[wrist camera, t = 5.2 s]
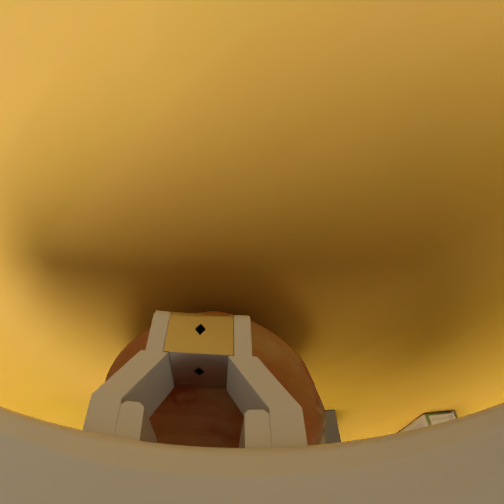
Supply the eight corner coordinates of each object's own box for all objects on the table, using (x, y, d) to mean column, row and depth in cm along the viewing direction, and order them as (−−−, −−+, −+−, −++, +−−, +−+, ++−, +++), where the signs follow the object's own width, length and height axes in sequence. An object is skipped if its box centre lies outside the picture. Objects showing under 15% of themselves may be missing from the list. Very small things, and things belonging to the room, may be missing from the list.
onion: (315, 371, 19) (341, 523, 11) (167, 392, 20) (154, 530, 12) (293, 246, 14) (347, 496, 6) (91, 289, 15) (25, 481, 7)
